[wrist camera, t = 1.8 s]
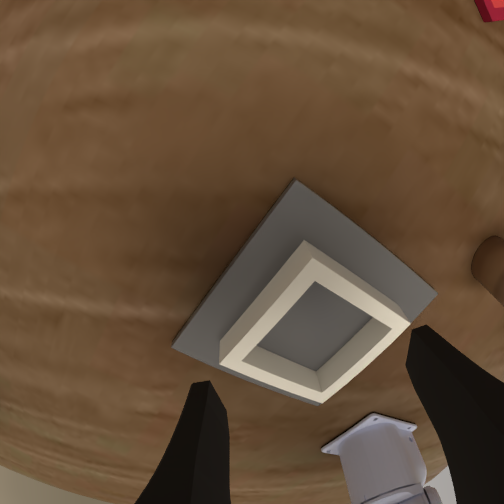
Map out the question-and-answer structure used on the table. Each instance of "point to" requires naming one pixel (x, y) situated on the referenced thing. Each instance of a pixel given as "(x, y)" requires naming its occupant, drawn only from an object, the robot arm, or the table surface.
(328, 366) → the holder
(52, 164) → the table surface
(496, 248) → the walnut peg
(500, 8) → the red board with handle
